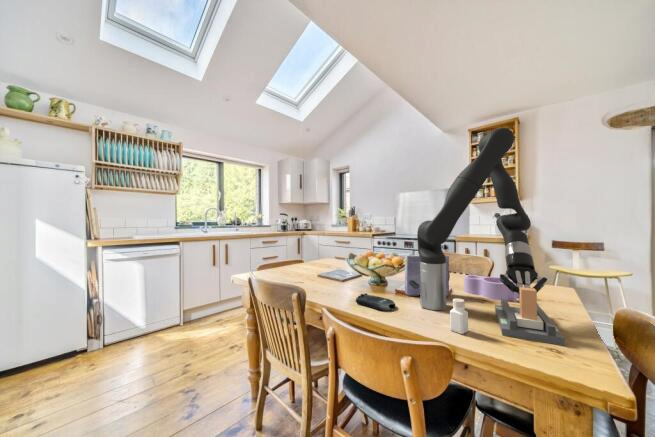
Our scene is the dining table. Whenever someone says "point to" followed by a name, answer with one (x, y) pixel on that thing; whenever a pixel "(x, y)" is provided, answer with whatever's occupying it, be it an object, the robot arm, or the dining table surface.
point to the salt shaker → (458, 317)
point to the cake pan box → (418, 275)
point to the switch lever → (528, 310)
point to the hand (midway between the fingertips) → (526, 304)
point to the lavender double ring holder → (489, 288)
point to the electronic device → (375, 302)
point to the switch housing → (511, 329)
